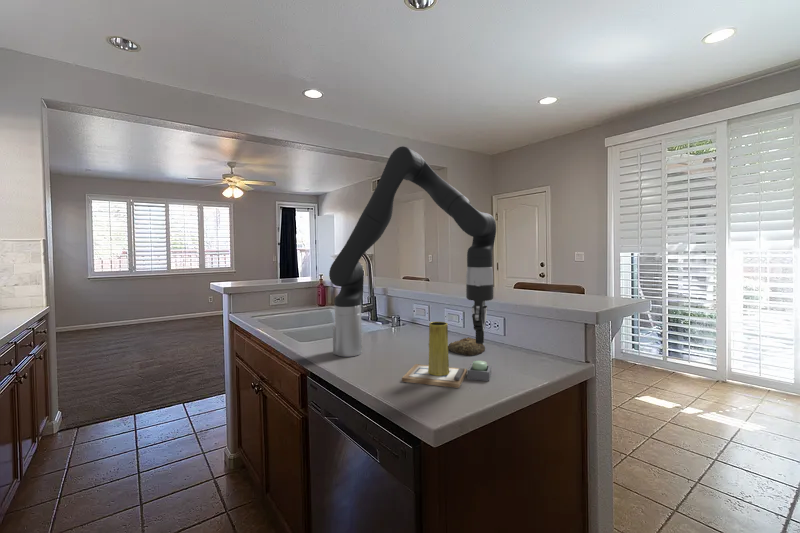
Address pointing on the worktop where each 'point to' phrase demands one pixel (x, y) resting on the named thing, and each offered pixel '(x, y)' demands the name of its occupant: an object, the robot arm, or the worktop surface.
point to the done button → (480, 365)
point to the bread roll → (466, 347)
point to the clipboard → (423, 377)
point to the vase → (438, 349)
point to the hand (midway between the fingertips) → (479, 343)
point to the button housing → (479, 374)
